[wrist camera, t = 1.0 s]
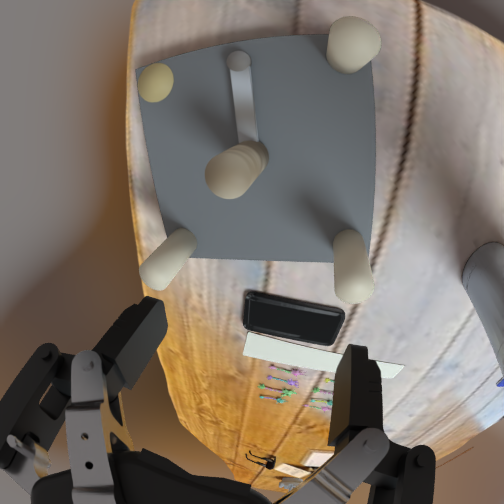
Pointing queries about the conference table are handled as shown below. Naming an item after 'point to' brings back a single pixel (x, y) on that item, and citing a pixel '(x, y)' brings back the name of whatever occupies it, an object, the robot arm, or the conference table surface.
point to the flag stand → (290, 482)
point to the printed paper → (301, 361)
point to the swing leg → (239, 138)
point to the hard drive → (500, 383)
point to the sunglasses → (270, 462)
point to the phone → (292, 319)
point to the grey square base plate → (280, 154)
